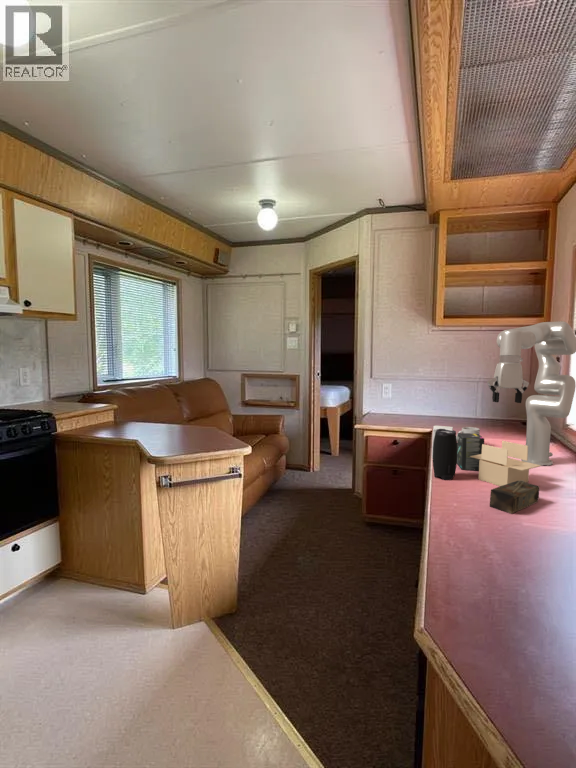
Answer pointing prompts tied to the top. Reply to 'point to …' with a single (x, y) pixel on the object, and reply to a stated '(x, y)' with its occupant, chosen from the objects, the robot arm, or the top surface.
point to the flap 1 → (494, 454)
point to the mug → (469, 430)
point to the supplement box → (435, 431)
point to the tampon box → (469, 450)
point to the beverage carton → (514, 496)
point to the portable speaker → (445, 454)
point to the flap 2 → (516, 450)
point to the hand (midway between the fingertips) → (506, 402)
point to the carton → (504, 471)
